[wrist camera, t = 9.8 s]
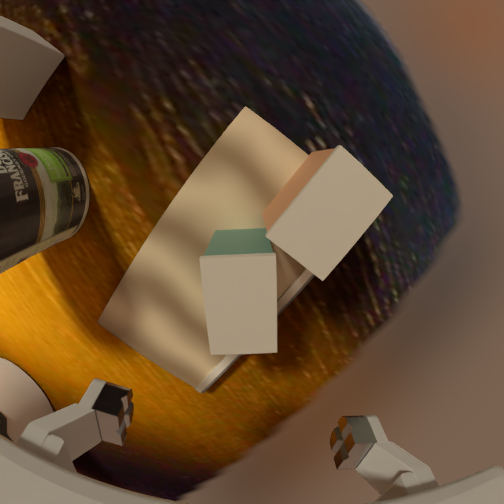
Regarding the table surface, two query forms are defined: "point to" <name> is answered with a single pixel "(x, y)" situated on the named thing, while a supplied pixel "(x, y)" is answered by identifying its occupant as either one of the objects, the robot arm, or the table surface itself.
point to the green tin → (240, 292)
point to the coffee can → (39, 201)
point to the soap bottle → (23, 67)
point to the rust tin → (324, 209)
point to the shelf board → (194, 246)
